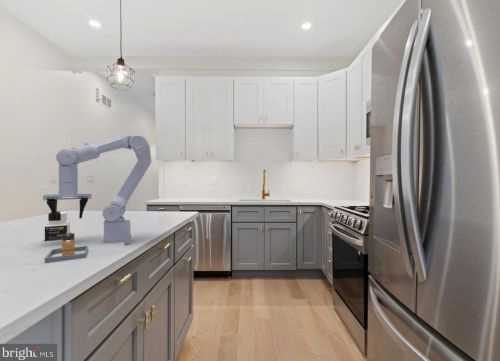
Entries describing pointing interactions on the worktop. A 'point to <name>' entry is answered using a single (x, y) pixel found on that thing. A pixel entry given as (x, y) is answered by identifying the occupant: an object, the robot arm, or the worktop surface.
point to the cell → (68, 244)
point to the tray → (67, 257)
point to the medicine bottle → (56, 226)
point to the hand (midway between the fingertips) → (68, 218)
